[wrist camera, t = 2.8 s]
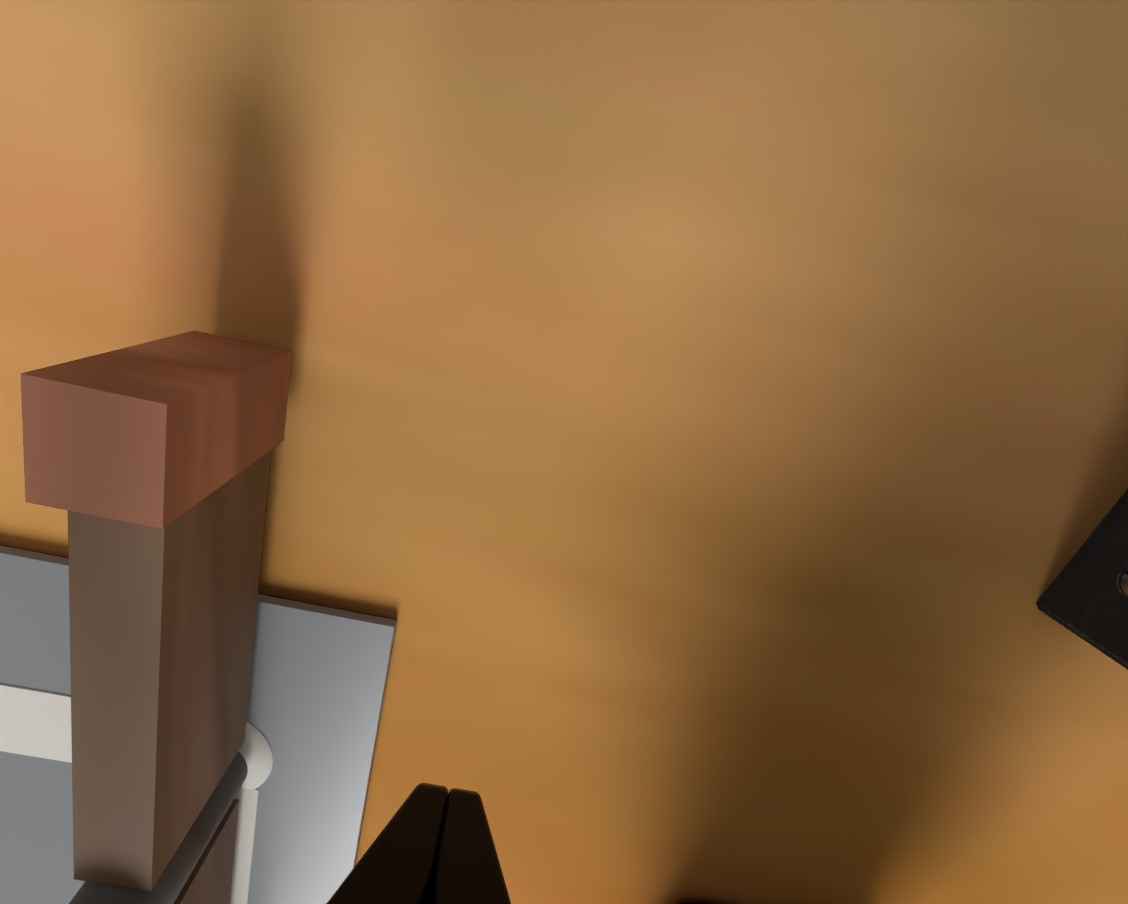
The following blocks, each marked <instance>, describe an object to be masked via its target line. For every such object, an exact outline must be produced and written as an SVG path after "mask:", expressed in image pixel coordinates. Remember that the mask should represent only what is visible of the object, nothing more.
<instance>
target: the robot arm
mask: <svg viewBox="0 0 1128 904" xmlns="http://www.w3.org/2000/svg"><path fill="white" fill-rule="evenodd" d="M327 904H511V902H510V898H509V895H508V891H507V888H506V884H505V881H504V877H503V874H502V870H501V867H500V863H499V860H498V856H497V853H496V849H495V845H494V842H493V838H492V835H491V831H490V828H489V824H488V821H487V817H486V814H485V810H484V807H483V803H482V800H481V797H480V795H479V794H478V793H477V792H474V791H469V790H463V789H457V788H453V789H451V790H450V791H449V793H448V789H447V788H446V787H444V786H439V785H433V784H427V783H421V784H419V785H418V786H416V788H415V789H414V790H413V791H412V793H411V794H410V795H409V797H408V798H407V799H406V800H405V802H404V803H403V804H402V806H401V807H400V808H399V810H398V811H397V812H396V814H395V815H394V816H393V817H392V819H391V820H390V821H389V823H388V824H387V825H386V827H385V828H384V829H383V831H382V832H381V833H380V834H379V836H378V837H377V838H376V840H375V841H374V842H373V844H372V845H371V846H370V847H369V849H368V850H367V851H366V853H365V854H364V855H363V857H362V858H361V859H360V861H359V862H358V863H357V864H356V866H355V867H354V868H353V870H352V871H351V872H350V874H349V875H348V876H347V877H346V879H345V880H344V881H343V883H342V884H341V885H340V887H339V888H338V889H337V891H336V892H335V893H334V894H333V896H332V897H331V898H330V900H329V901H328V902H327ZM683 904H702V903H696V902H686V903H683Z"/></svg>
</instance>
